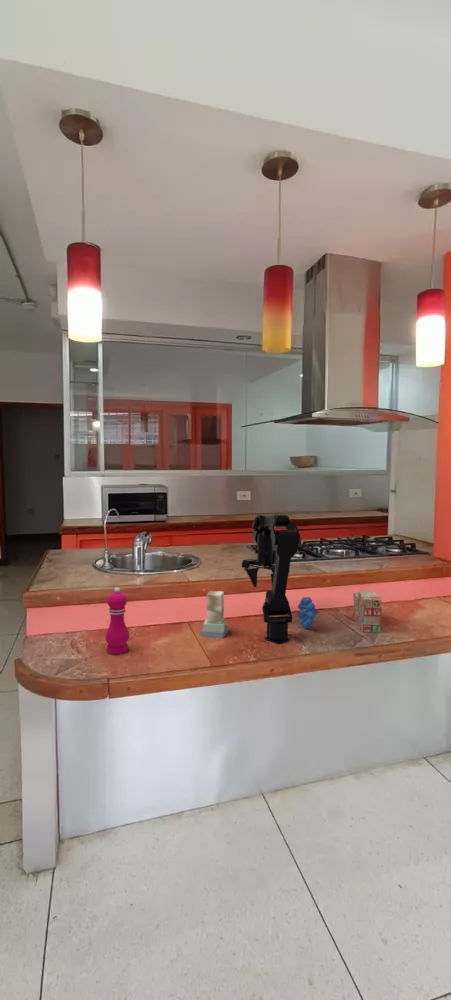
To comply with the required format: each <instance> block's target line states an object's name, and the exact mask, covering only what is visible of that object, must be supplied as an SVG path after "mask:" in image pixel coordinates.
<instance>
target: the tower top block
mask: <svg viewBox="0 0 451 1000" xmlns="http://www.w3.org/2000/svg"><path fill="white" fill-rule="evenodd" d="M226 621H227V620H226V617H224V620H223V622H222V623H221V624H210V623H207V617H206V618H205V619H204V621H203V627H202V629H203V631H207V632H224V629H225V626H226Z"/></svg>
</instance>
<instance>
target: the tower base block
mask: <svg viewBox="0 0 451 1000" xmlns="http://www.w3.org/2000/svg"><path fill="white" fill-rule="evenodd" d="M229 627H230V626H229V625H225V629H224V632H207V631H203V628H202V629H200V631H199V637H201V638H203V637H204V638H214V639H224V638H225V637H226V635H227V634H228V633H229Z"/></svg>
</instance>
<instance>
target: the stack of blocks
mask: <svg viewBox="0 0 451 1000" xmlns="http://www.w3.org/2000/svg"><path fill="white" fill-rule="evenodd" d="M382 601H383V600H382V598H381V597H380V596H379V595H378V593H376V592H375V590H357V592H353V616H354V618H355V620H356V622H357V624H358V625H359V628H360V629H361V632H362V633H367V634H369V633H372V634H380V633H381V630H382V628H381V627H382V626H381V625H382V620H381V619H382Z"/></svg>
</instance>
